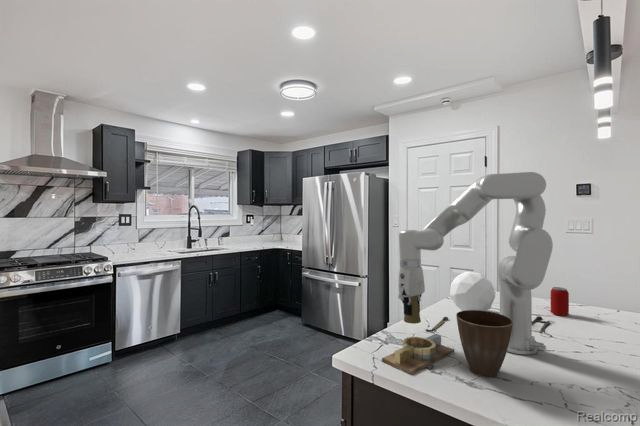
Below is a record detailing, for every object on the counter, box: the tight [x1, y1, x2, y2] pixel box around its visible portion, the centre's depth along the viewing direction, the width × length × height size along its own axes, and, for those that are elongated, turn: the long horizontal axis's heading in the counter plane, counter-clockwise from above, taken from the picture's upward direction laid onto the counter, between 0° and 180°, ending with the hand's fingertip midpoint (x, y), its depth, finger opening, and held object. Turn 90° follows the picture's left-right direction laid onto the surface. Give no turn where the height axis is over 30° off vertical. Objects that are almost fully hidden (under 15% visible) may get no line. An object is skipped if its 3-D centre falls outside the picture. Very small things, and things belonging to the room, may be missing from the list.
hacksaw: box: [532, 315, 556, 338], centre depth 134 cm, size 24×10×2 cm, turn 133°
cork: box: [403, 293, 422, 325], centre depth 120 cm, size 6×6×11 cm
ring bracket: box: [394, 333, 442, 365], centre depth 107 cm, size 23×10×4 cm, turn 129°
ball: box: [449, 271, 496, 311], centre depth 154 cm, size 19×20×20 cm
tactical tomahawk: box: [425, 316, 449, 334], centre depth 136 cm, size 21×7×1 cm, turn 140°
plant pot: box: [455, 310, 513, 378], centre depth 97 cm, size 15×15×16 cm
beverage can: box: [550, 286, 570, 317], centre depth 151 cm, size 7×7×12 cm
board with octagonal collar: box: [381, 344, 455, 375], centre depth 107 cm, size 24×11×1 cm, turn 129°
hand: (411, 313), depth 120 cm, fingers closed on cork, 4 cm apart
